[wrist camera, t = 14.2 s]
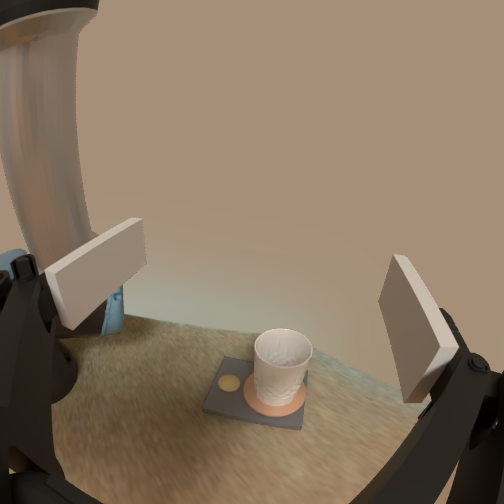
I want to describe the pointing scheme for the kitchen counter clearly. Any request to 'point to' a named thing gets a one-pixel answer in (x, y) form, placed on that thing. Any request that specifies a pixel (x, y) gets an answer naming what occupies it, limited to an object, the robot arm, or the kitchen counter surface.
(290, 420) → the board
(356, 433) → the kitchen counter surface
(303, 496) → the kitchen counter surface
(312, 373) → the kitchen counter surface
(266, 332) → the white cup
